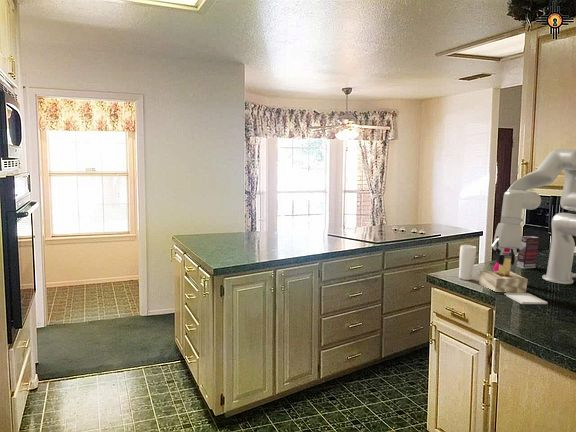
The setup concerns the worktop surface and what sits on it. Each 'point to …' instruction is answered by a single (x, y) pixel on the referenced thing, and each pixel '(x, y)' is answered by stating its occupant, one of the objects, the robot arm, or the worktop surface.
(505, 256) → the yellow glass jar
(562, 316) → the worktop surface
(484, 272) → the bore block
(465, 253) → the white cylinder
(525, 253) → the supplement box
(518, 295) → the mat
